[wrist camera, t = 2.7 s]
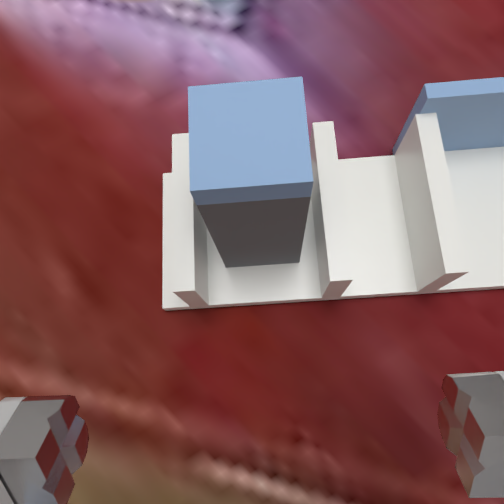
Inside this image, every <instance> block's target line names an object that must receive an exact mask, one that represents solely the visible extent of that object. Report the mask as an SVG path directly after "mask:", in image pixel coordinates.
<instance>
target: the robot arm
mask: <svg viewBox="0 0 504 504" xmlns="http://www.w3.org/2000/svg"><path fill="white" fill-rule="evenodd" d="M442 390H443V392H444V394H445V396H446V397H445V398H444V399H443V400H441V401H440V402H439V406H438V414H437V415H438V424H439V429H440V433H441V436H442V439H443V441H444V443H445V446H446V448H447V449H449V450H450V451H451V452H452V453H454V454H455V455H456V456H457V460H456V465H455V468H456V470H457V472H458V475H459V477H460V479H461V481H462V483H463V486H464V488H465V490H466V492H467V494H468V497H469V498H496V497H504V371H496V372H480V373H464V374H449V375H446V376H445V377H444V379H443V383H442ZM78 409H79V404H78V402H77V400H76V398H75V396H71V395H62V396H27V397H6V398H4V399H3V400H1V401H0V504H67V503H68V500H69V498H70V495H71V493H72V490H73V488H74V485H75V483H74V480H73V477H72V474H73V473H74V472H75V471H76V470H77V469H78V468H79V467H81V466H82V464H83V462H84V459H85V456H86V453H87V448H88V440H89V436H88V428H87V425H86V423H85V421H84V420H83V419H82V418H80V417H79V416H77V415H76V414H77V411H78Z"/></svg>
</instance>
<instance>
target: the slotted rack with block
mask: <svg viewBox="0 0 504 504" xmlns="http://www.w3.org/2000/svg"><path fill="white" fill-rule="evenodd" d="M392 151H393V155H390V156H378V157H365V158H353V159H340V160H338V156H337V148H336V140H335V132H334V125H333V121H328V122H316V123H313V124H312V132H311V139H310V154H311V163H312V172H313V187H312V193H311V198H310V204H309V210H308V216H307V221H306V227H305V233H304V239H303V244H302V250H301V256H300V262H299V263H288V264H273V265H259V266H245V267H230V268H226V267H225V265H224V263H223V260H222V258H221V256H220V254H219V252H218V250H217V248H216V246H215V243H214V241H213V239H212V237H211V235H210V233H209V231H208V229H207V227H206V224H205V222H204V220H203V218H202V216H201V214H200V212H199V210H198V207H197V205H196V203H195V201H194V199H193V197H192V195H191V193H190V176H189V133H183V134H172V173H163V309H164V310H166V311H169V310H184V309H199V308H214V307H230V306H245V305H260V304H275V303H290V302H306V301H321V300H336V299H351V298H366V297H382V296H397V295H412V294H427V293H442V292H457V291H473V290H488V289H503V288H504V77H499V78H488V79H476V80H464V81H453V82H441V83H429V84H424V86H423V88H422V90H421V93H420V95H419V97H418V99H417V101H416V103H415V105H414V107H413V109H412V111H411V113H410V115H409V117H408V119H407V121H406V123H405V125H404V127H403V129H402V131H401V133H400V135H399V137H398V139H397V141H396V143H395V145H394V147H393V149H392Z"/></svg>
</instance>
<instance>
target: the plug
mask: <svg viewBox="0 0 504 504" xmlns="http://www.w3.org/2000/svg"><path fill="white" fill-rule="evenodd" d="M188 113H189V176H190V193H191V195H192V197H193V199H194V201H195V203H196V205H197V207H198V210H199V212H200V214H201V216H202V218H203V220H204V222H205V224H206V227H207V229H208V231H209V233H210V235H211V237H212V239H213V241H214V243H215V246H216V248H217V250H218V252H219V254H220V256H221V258H222V260H223V263H224V265H225V267H226V268H230V267H245V266H259V265H273V264H288V263H299V262H300V256H301V250H302V244H303V239H304V233H305V227H306V221H307V216H308V210H309V204H310V198H311V193H312V187H313V172H312V163H311V154H310V144H309V135H308V126H307V116H306V107H305V97H304V88H303V79H302V77H292V78H281V79H269V80H258V81H246V82H235V83H224V84H212V85H201V86H189V87H188Z"/></svg>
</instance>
